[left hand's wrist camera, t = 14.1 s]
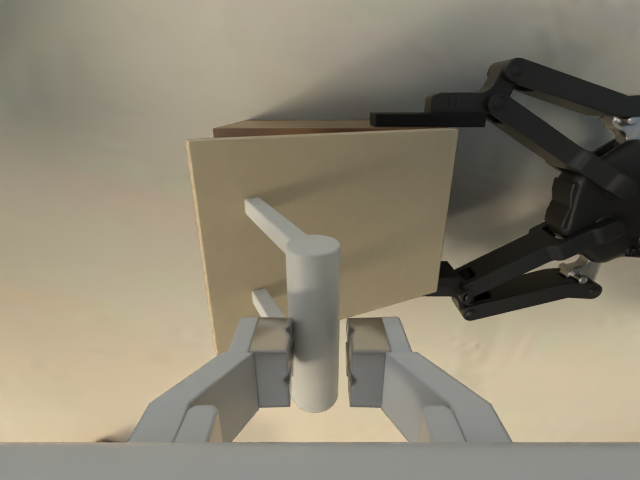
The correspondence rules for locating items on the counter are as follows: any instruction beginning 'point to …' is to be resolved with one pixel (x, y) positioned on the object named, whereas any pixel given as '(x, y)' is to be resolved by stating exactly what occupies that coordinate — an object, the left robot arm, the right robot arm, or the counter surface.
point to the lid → (318, 233)
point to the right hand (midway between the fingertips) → (368, 202)
